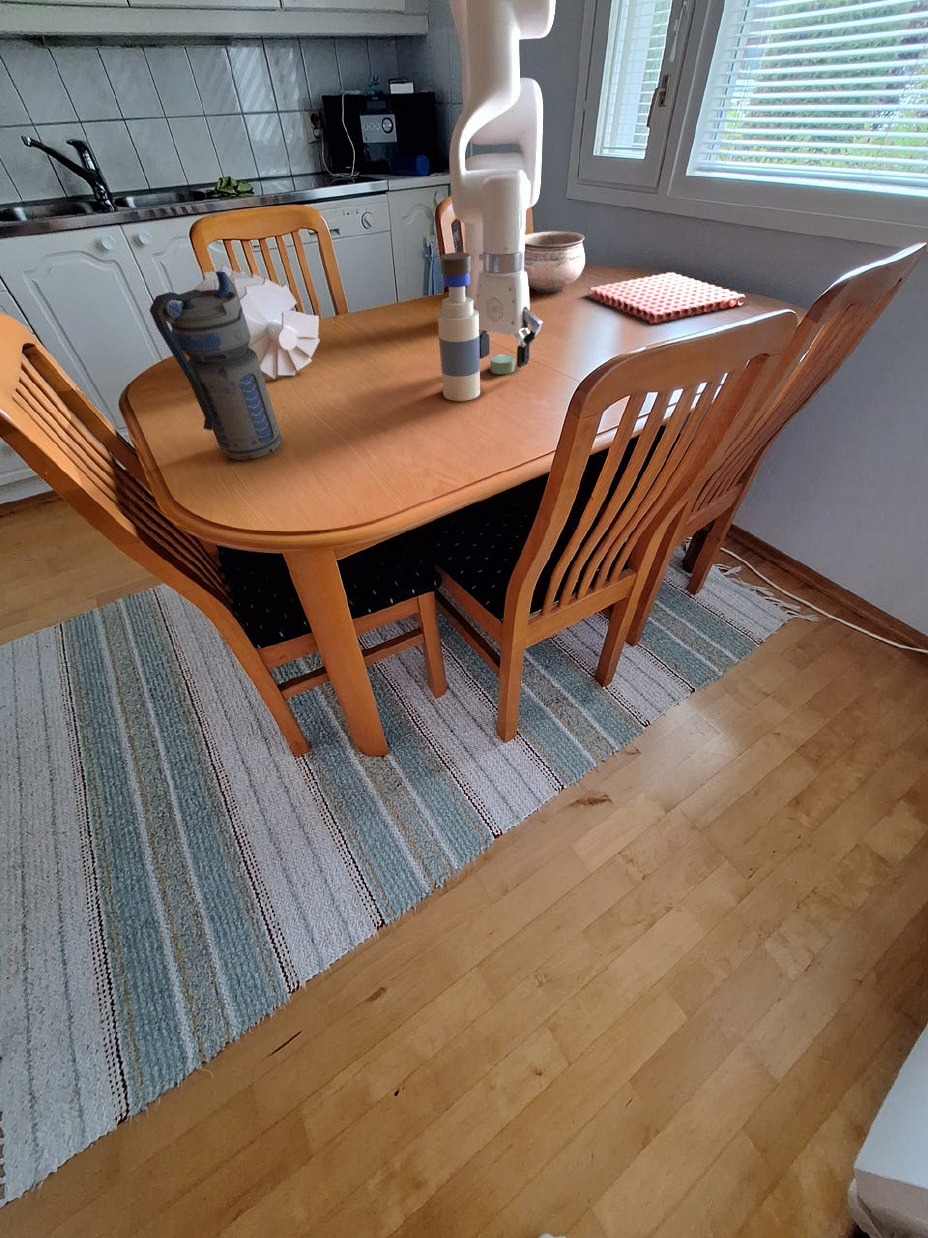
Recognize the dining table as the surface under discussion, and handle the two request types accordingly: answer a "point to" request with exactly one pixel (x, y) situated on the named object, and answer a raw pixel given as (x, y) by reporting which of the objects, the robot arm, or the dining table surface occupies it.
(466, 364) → the cream bottle
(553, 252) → the cooking pot
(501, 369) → the sage cylinder
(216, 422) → the beverage bottle
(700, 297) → the pink perforated square mat
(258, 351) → the spiral staircase
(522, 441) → the dining table surface
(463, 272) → the brown disc
